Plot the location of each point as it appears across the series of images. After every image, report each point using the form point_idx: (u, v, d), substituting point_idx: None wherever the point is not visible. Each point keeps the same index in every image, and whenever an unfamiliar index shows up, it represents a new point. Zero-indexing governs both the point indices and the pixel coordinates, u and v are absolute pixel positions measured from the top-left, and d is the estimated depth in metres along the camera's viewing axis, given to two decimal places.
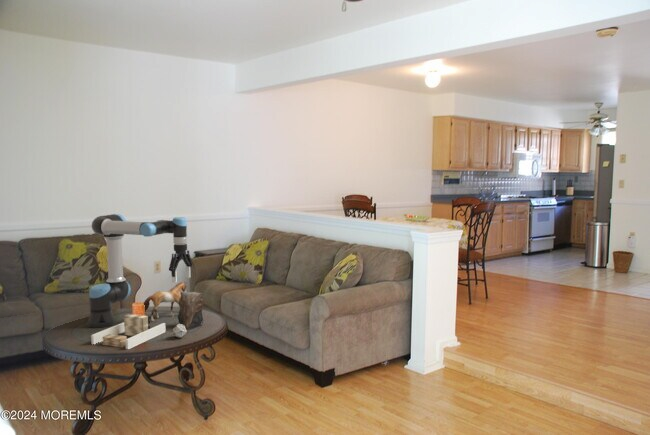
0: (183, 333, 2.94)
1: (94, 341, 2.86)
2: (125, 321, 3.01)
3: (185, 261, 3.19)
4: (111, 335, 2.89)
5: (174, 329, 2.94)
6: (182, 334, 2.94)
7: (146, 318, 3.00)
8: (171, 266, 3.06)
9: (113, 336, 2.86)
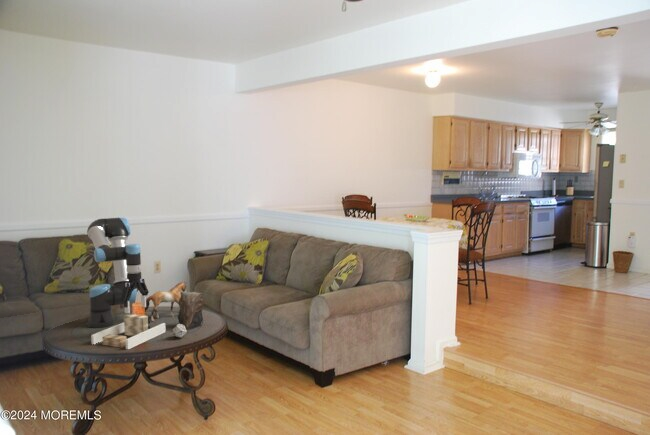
0: (183, 333, 2.94)
1: (94, 341, 2.86)
2: (125, 321, 3.01)
3: (140, 290, 3.04)
4: (111, 335, 2.89)
5: (174, 329, 2.94)
6: (182, 334, 2.94)
7: (146, 318, 3.00)
8: (123, 296, 2.91)
9: (113, 336, 2.86)
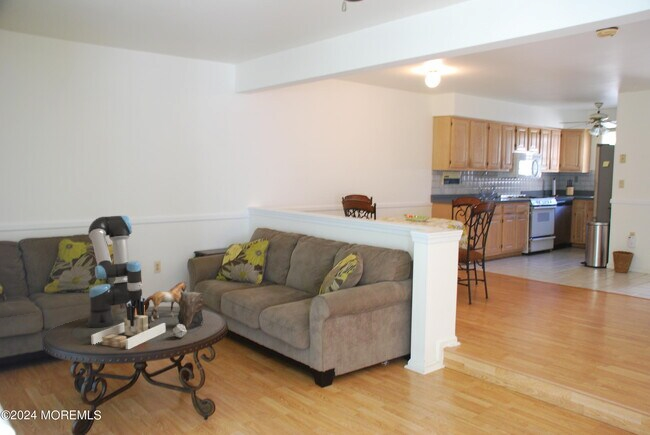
0: (183, 333, 2.94)
1: (94, 341, 2.86)
2: (125, 321, 3.01)
3: (137, 309, 3.02)
4: (111, 335, 2.89)
5: (174, 329, 2.94)
6: (182, 334, 2.94)
7: (146, 318, 3.00)
8: (128, 316, 2.95)
9: (113, 336, 2.86)
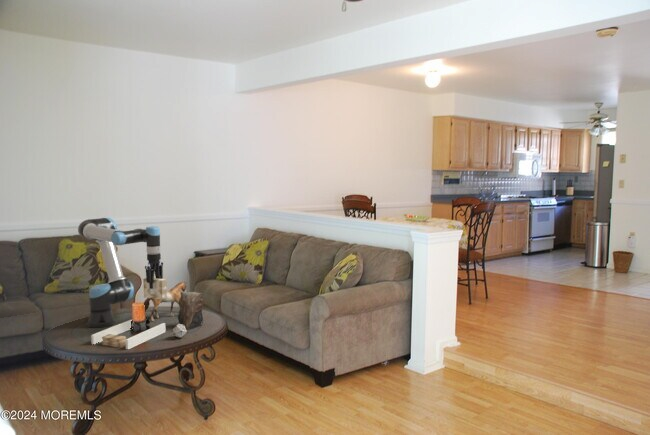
0: (183, 333, 2.94)
1: (94, 341, 2.86)
2: (144, 284, 3.13)
3: (156, 273, 3.14)
4: (111, 335, 2.89)
5: (174, 329, 2.94)
6: (182, 334, 2.94)
7: (165, 281, 3.11)
8: (148, 278, 3.07)
9: (112, 336, 2.86)
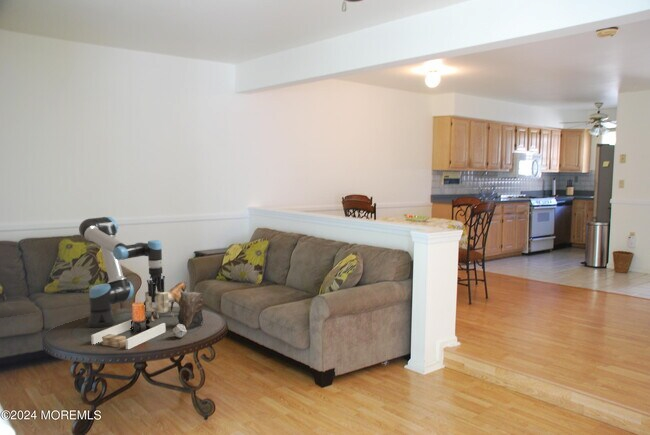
0: (183, 333, 2.94)
1: (94, 341, 2.86)
2: (146, 297, 3.14)
3: (158, 286, 3.16)
4: (111, 335, 2.89)
5: (174, 329, 2.94)
6: (182, 334, 2.94)
7: (166, 294, 3.13)
8: (150, 292, 3.09)
9: (112, 336, 2.86)
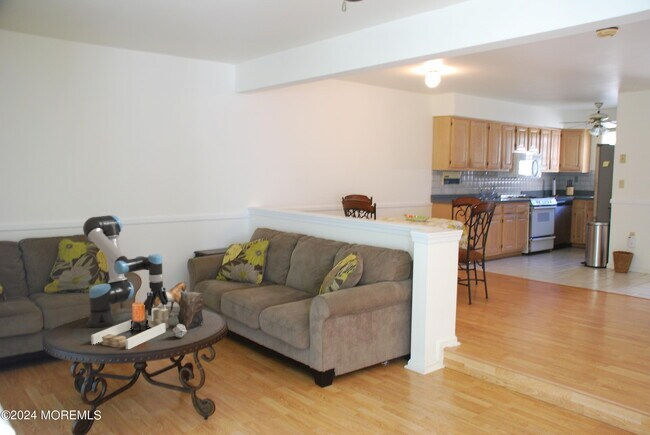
0: (183, 333, 2.94)
1: (94, 341, 2.86)
2: (147, 314, 3.15)
3: (160, 299, 3.18)
4: (111, 335, 2.89)
5: (174, 329, 2.94)
6: (182, 334, 2.94)
7: (167, 311, 3.14)
8: (147, 305, 3.07)
9: (112, 336, 2.86)
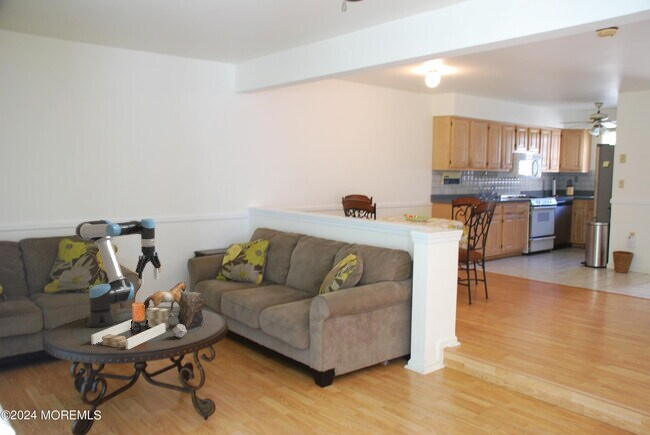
0: (183, 333, 2.94)
1: (94, 341, 2.86)
2: (147, 314, 3.15)
3: (153, 263, 3.17)
4: (111, 335, 2.89)
5: (174, 329, 2.94)
6: (182, 334, 2.94)
7: (167, 311, 3.14)
8: (138, 268, 3.04)
9: (112, 336, 2.86)
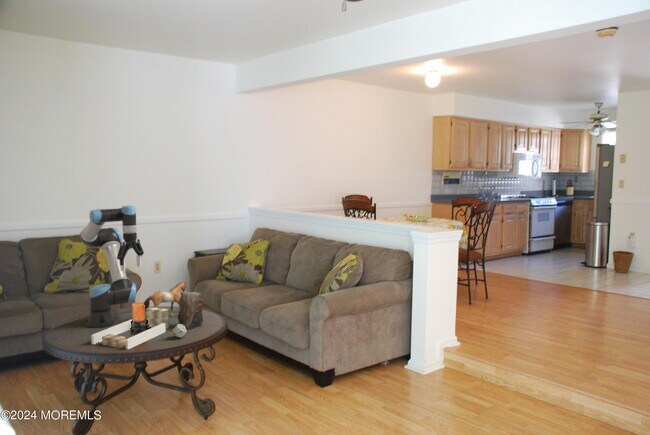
0: (183, 333, 2.94)
1: (94, 341, 2.86)
2: (147, 314, 3.15)
3: (135, 250, 3.17)
4: (111, 335, 2.89)
5: (174, 329, 2.94)
6: (182, 334, 2.94)
7: (167, 311, 3.14)
8: (119, 254, 3.04)
9: (112, 336, 2.86)
